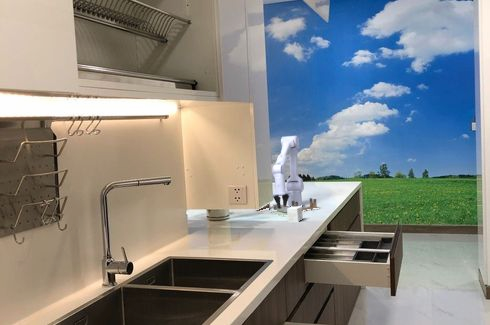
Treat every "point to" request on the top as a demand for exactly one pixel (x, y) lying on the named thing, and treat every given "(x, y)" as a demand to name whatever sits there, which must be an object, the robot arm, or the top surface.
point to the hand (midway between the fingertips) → (282, 208)
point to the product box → (294, 214)
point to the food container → (264, 207)
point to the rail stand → (312, 205)
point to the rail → (283, 208)
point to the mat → (280, 212)
